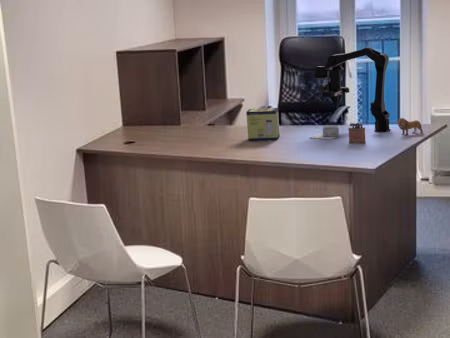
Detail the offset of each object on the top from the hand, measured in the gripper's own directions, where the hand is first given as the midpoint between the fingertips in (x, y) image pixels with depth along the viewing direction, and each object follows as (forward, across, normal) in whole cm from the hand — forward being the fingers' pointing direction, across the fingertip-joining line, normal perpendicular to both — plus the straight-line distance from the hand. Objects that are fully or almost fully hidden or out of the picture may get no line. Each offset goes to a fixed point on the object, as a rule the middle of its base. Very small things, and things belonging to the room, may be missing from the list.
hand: (336, 108), depth 382 cm
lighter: (+12, +27, +29) cm, 41 cm away
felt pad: (+12, +19, +5) cm, 23 cm away
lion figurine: (+12, -2, +42) cm, 44 cm away
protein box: (+12, +34, -23) cm, 43 cm away
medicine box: (+9, +12, +4) cm, 16 cm away
